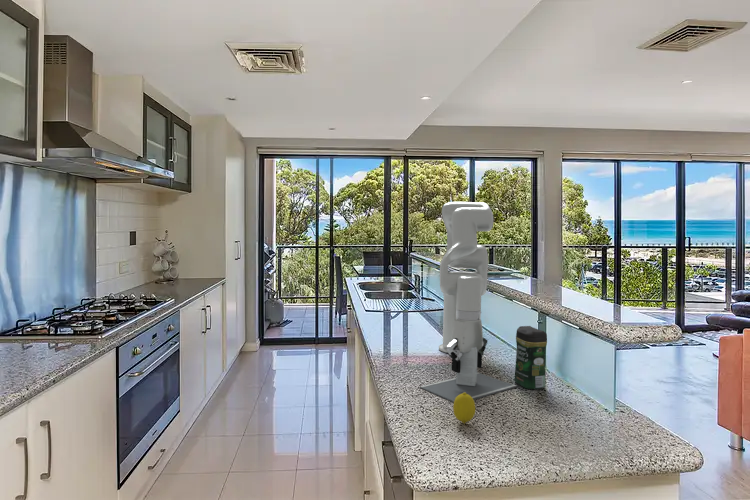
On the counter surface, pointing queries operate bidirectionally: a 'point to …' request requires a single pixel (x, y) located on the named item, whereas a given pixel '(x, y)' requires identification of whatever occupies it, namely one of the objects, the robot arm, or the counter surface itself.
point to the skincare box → (468, 368)
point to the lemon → (464, 407)
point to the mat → (468, 388)
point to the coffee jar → (530, 357)
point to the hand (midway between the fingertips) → (466, 369)
